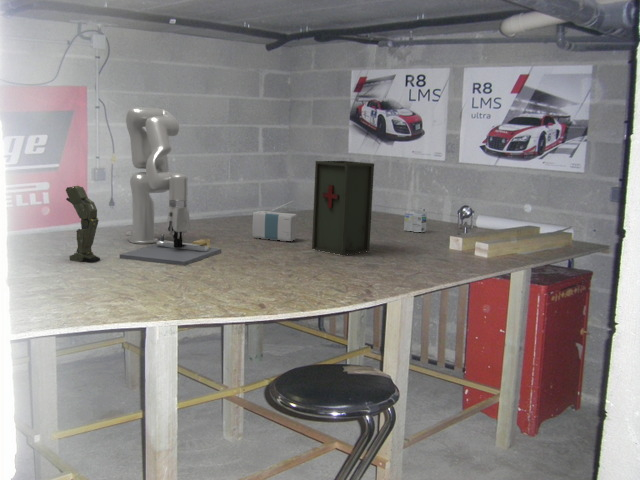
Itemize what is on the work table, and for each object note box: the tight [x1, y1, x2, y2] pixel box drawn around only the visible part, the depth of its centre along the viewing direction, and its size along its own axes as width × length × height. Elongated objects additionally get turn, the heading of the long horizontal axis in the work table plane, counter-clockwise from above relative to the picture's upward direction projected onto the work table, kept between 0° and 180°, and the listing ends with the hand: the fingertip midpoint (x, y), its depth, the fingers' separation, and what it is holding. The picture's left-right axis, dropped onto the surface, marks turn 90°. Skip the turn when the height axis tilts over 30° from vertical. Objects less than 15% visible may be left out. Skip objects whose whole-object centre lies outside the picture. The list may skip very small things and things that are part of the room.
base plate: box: [119, 243, 222, 266], centre depth 281 cm, size 29×32×2 cm
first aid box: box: [311, 160, 375, 256], centre depth 304 cm, size 18×18×40 cm
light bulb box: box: [403, 211, 427, 232], centre depth 374 cm, size 11×7×11 cm, turn 58°
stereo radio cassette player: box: [251, 199, 298, 242], centre depth 328 cm, size 21×8×20 cm, turn 68°
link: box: [156, 233, 208, 251], centre depth 287 cm, size 24×5×5 cm, turn 70°
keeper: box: [192, 238, 211, 249], centre depth 286 cm, size 3×10×4 cm, turn 162°
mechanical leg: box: [65, 185, 101, 264], centre depth 261 cm, size 14×7×30 cm, turn 71°
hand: (178, 247), depth 285 cm, fingers closed
